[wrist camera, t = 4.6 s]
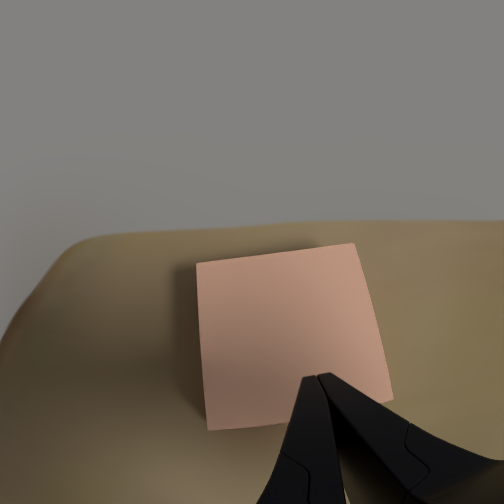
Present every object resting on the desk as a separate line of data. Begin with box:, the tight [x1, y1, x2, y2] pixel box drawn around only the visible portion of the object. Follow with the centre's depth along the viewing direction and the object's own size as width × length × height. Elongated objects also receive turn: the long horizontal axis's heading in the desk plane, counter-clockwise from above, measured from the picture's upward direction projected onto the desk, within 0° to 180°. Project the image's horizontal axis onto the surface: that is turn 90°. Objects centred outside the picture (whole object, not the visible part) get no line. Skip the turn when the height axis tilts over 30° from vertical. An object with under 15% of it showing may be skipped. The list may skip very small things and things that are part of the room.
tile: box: [196, 243, 394, 431], centre depth 15 cm, size 3×8×8 cm
